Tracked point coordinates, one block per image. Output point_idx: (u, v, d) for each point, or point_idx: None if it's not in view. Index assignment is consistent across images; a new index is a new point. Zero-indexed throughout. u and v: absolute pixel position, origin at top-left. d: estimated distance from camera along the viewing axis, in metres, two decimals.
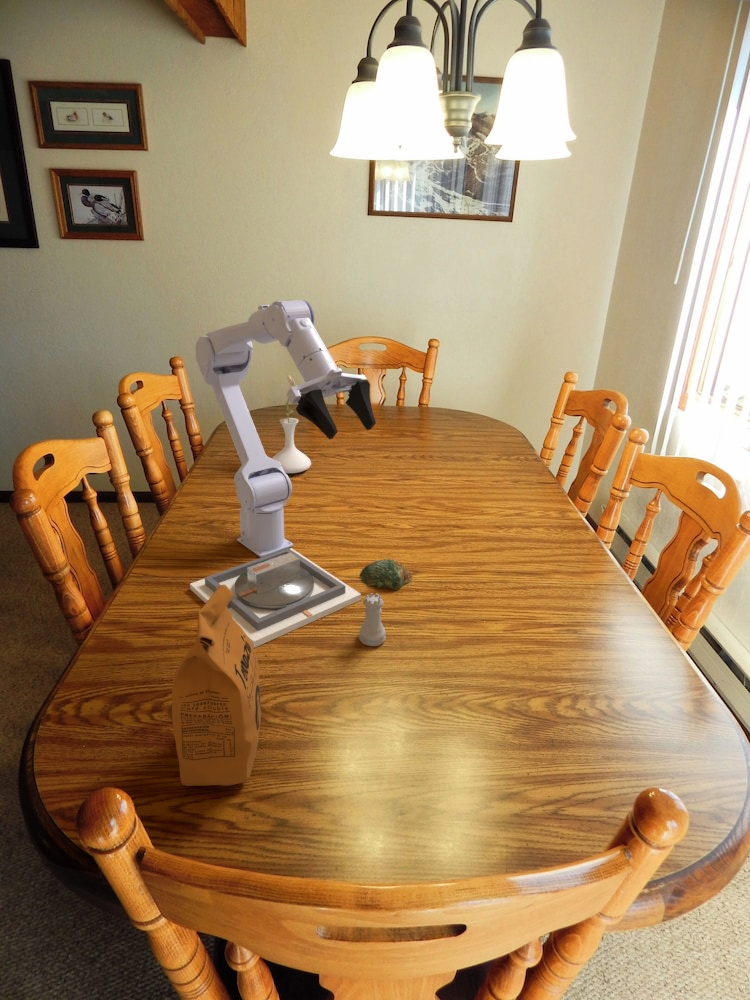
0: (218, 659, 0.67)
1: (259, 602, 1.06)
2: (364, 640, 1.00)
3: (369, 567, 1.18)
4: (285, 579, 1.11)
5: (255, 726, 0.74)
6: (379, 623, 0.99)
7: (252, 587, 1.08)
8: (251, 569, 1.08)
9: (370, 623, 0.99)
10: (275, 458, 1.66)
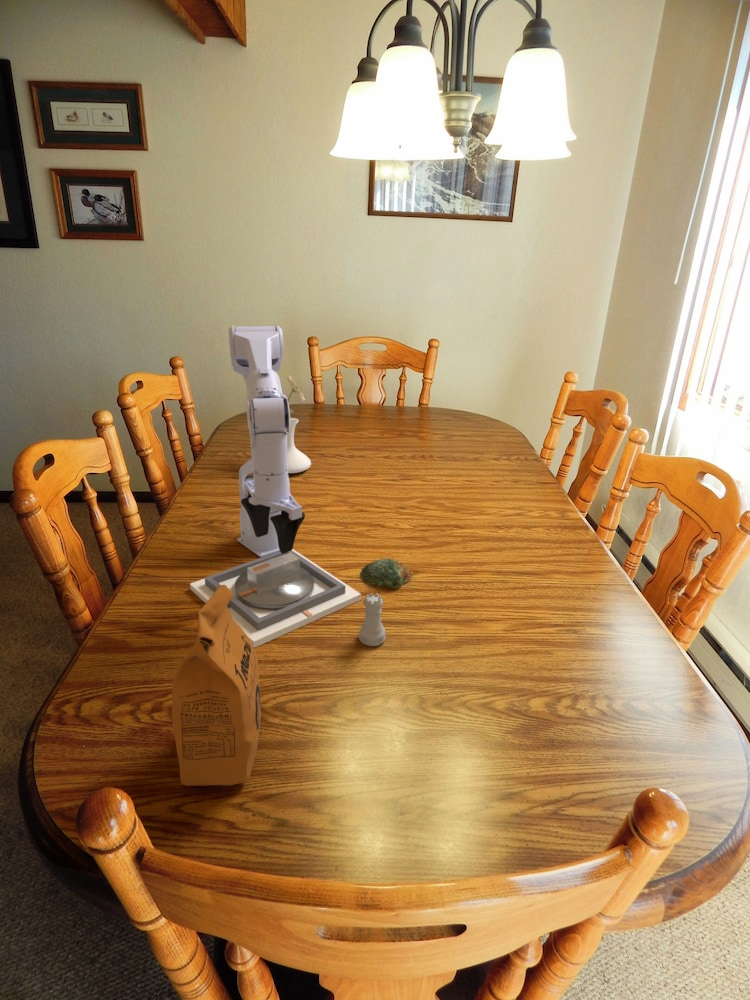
0: (218, 659, 0.67)
1: (259, 602, 1.06)
2: (364, 640, 1.00)
3: (369, 566, 1.19)
4: (285, 579, 1.11)
5: (255, 726, 0.74)
6: (379, 623, 0.99)
7: (252, 587, 1.08)
8: (251, 569, 1.08)
9: (370, 623, 0.99)
10: None
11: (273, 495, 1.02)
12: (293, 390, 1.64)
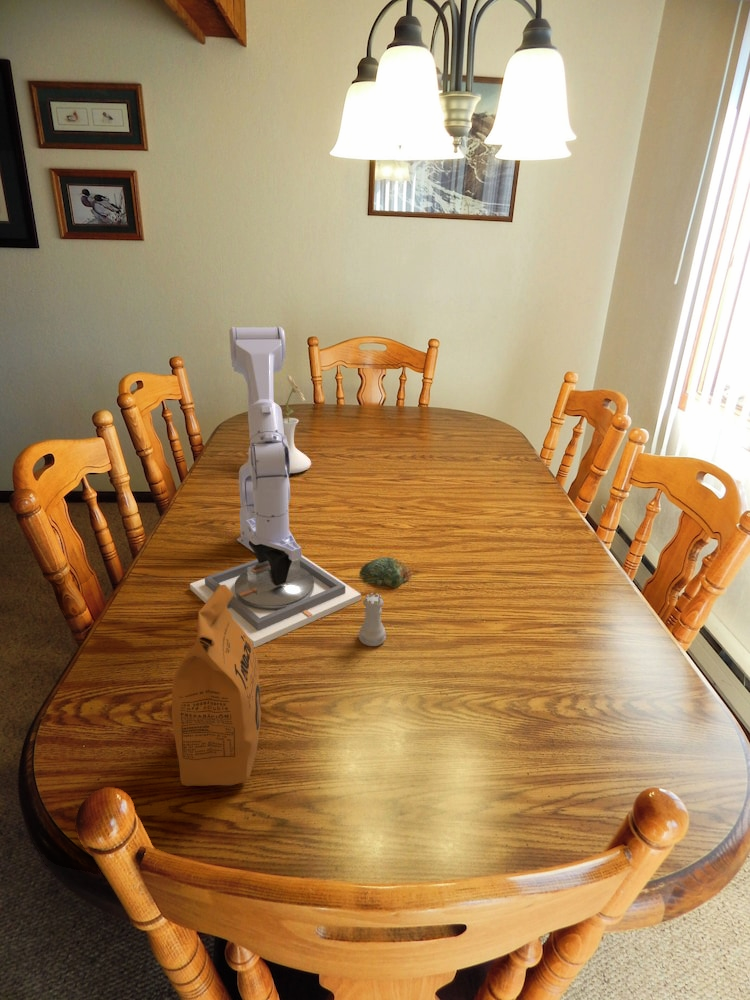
0: (218, 659, 0.67)
1: (259, 602, 1.06)
2: (364, 640, 1.00)
3: (369, 565, 1.19)
4: None
5: (255, 726, 0.74)
6: (379, 623, 0.99)
7: (252, 587, 1.08)
8: (251, 569, 1.08)
9: (370, 623, 0.99)
10: None
11: (274, 535, 1.05)
12: (293, 390, 1.64)
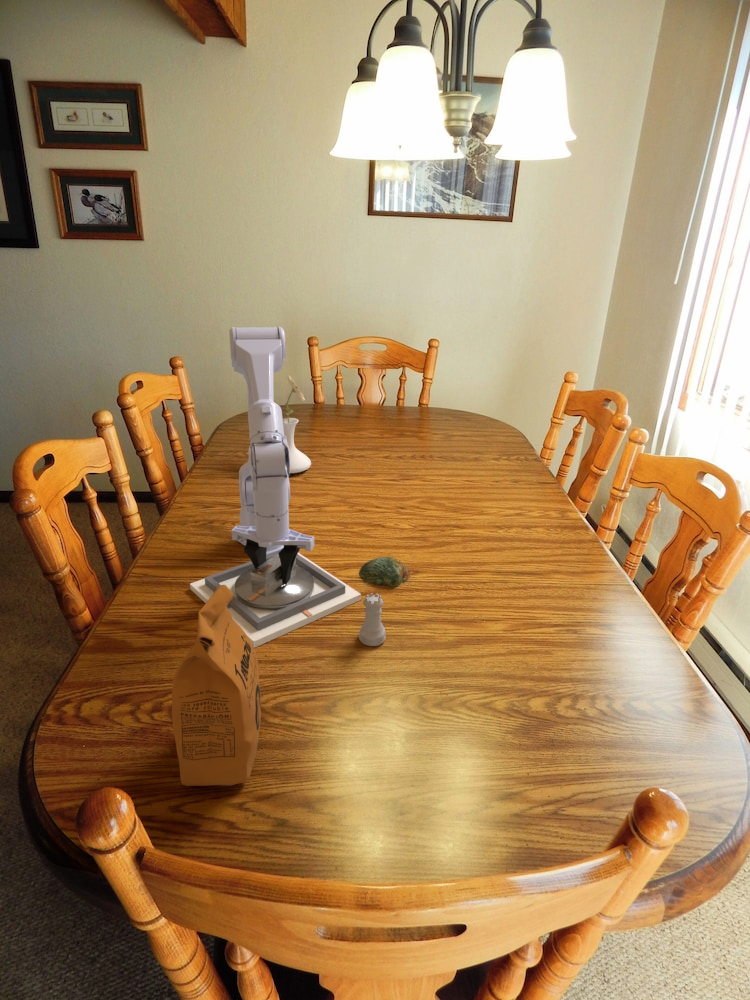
0: (218, 659, 0.67)
1: (272, 603, 1.05)
2: (364, 640, 1.00)
3: (368, 564, 1.19)
4: None
5: (255, 726, 0.74)
6: (379, 623, 0.99)
7: (258, 590, 1.08)
8: (256, 572, 1.07)
9: (370, 623, 0.99)
10: None
11: (283, 533, 1.06)
12: (293, 390, 1.64)
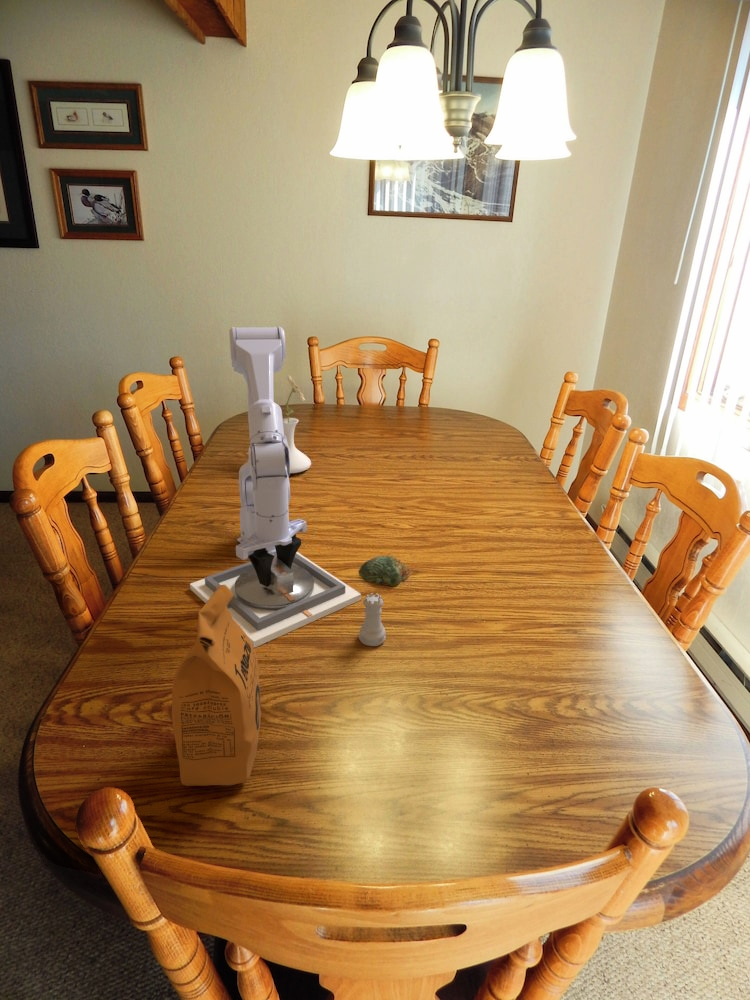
0: (218, 659, 0.67)
1: (308, 590, 1.09)
2: (364, 640, 1.00)
3: (368, 563, 1.20)
4: None
5: (255, 725, 0.74)
6: (379, 623, 0.99)
7: (285, 590, 1.08)
8: (282, 574, 1.07)
9: (370, 623, 0.99)
10: None
11: None
12: (293, 390, 1.64)
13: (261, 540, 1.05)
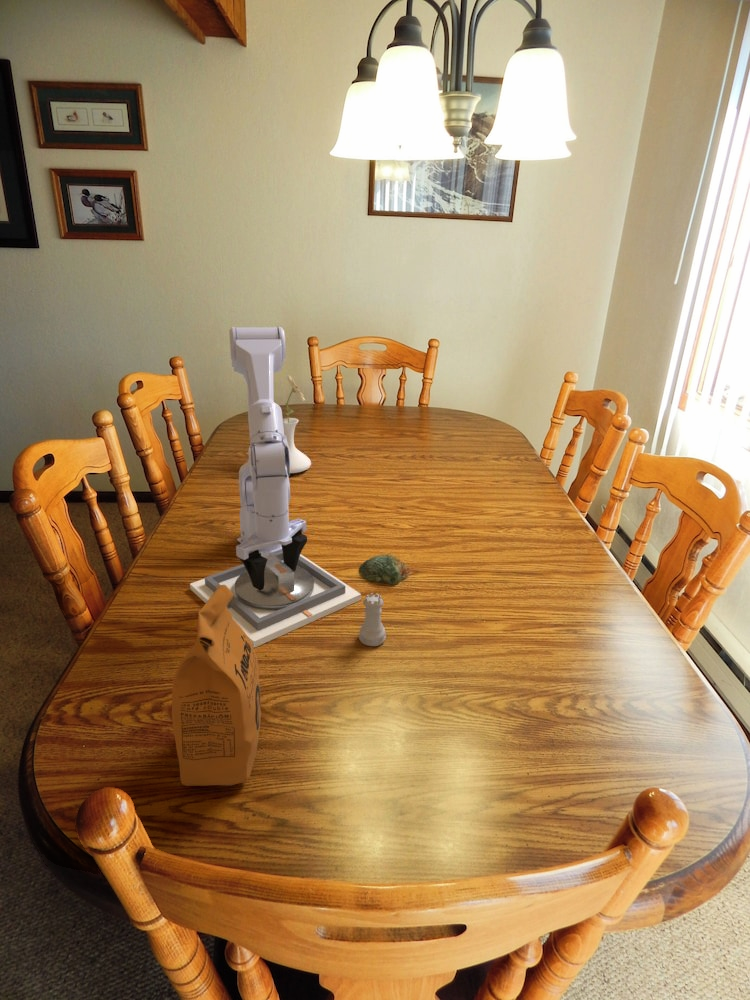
0: (218, 659, 0.67)
1: (308, 590, 1.10)
2: (364, 640, 1.00)
3: (368, 562, 1.20)
4: None
5: (255, 726, 0.74)
6: (379, 623, 0.99)
7: (286, 590, 1.08)
8: (282, 574, 1.07)
9: (370, 623, 0.99)
10: None
11: None
12: (293, 390, 1.64)
13: (261, 540, 1.05)
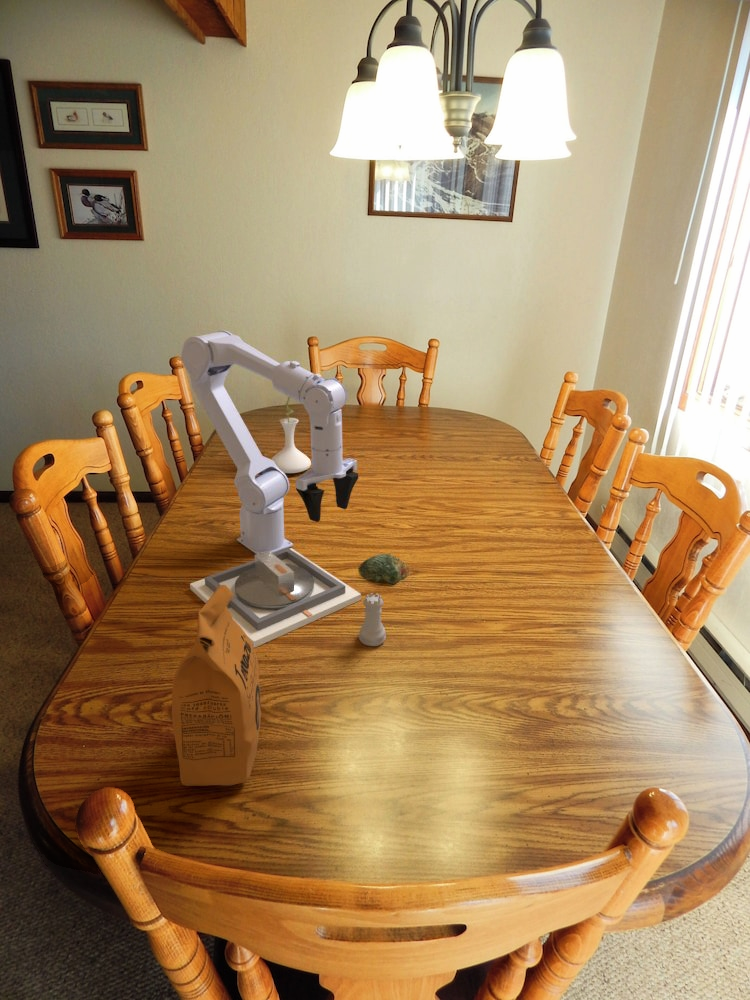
0: (218, 659, 0.67)
1: (308, 590, 1.10)
2: (364, 640, 1.00)
3: (367, 562, 1.20)
4: None
5: (255, 726, 0.74)
6: (379, 623, 0.99)
7: (286, 590, 1.08)
8: (282, 574, 1.07)
9: (370, 623, 0.99)
10: (275, 458, 1.66)
11: None
12: None
13: (318, 474, 1.14)
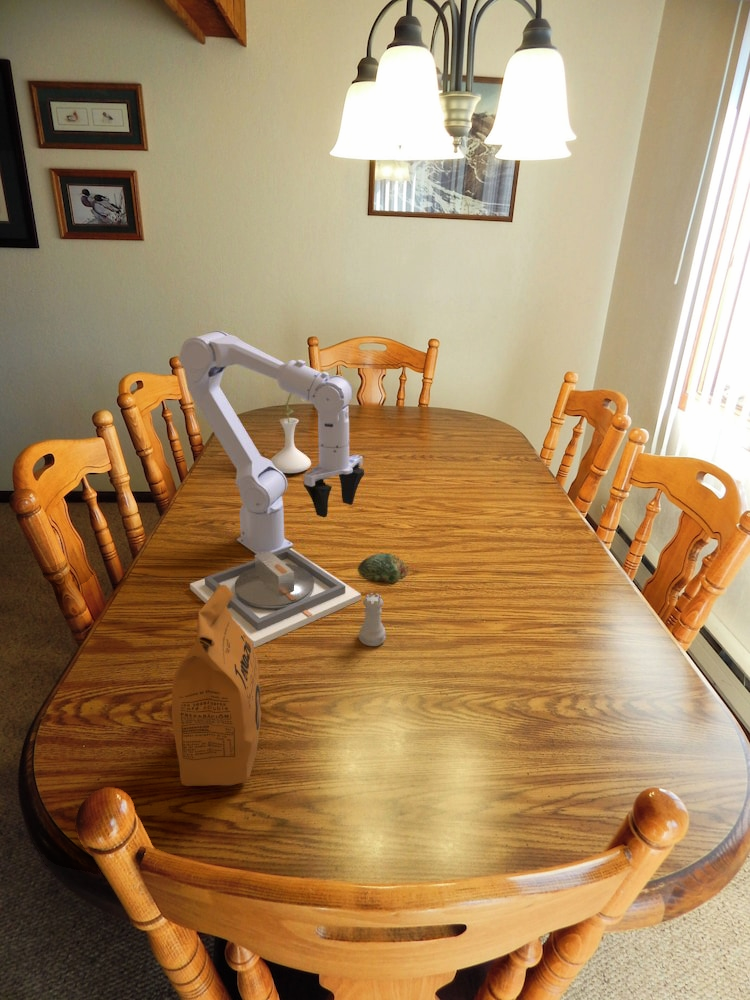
0: (218, 659, 0.67)
1: (308, 590, 1.10)
2: (364, 640, 1.00)
3: (367, 561, 1.21)
4: None
5: (255, 726, 0.74)
6: (379, 623, 0.99)
7: (286, 590, 1.08)
8: (282, 574, 1.07)
9: (370, 623, 0.99)
10: (275, 458, 1.66)
11: None
12: None
13: (325, 470, 1.16)
